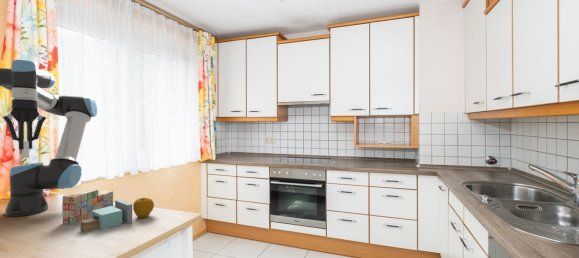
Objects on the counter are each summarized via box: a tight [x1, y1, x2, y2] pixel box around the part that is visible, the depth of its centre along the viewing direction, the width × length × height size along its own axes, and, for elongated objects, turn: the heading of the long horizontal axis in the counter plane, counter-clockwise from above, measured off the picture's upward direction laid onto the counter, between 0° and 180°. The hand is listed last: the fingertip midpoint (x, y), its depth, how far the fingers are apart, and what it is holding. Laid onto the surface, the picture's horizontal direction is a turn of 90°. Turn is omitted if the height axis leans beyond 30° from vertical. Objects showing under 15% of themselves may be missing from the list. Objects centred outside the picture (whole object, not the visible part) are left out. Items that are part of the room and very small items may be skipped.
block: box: [91, 205, 123, 230], centre depth 120 cm, size 10×8×6 cm
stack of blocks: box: [61, 188, 114, 225], centre depth 130 cm, size 21×6×12 cm, turn 171°
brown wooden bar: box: [80, 217, 100, 233], centre depth 116 cm, size 4×10×4 cm, turn 144°
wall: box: [114, 199, 133, 224], centre depth 125 cm, size 12×2×8 cm, turn 55°
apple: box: [132, 197, 155, 219], centre depth 130 cm, size 8×8×9 cm
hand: (25, 157), depth 113 cm, fingers closed
